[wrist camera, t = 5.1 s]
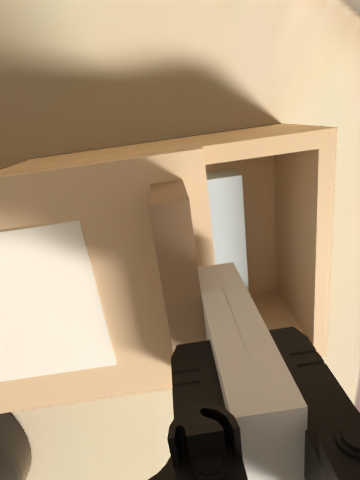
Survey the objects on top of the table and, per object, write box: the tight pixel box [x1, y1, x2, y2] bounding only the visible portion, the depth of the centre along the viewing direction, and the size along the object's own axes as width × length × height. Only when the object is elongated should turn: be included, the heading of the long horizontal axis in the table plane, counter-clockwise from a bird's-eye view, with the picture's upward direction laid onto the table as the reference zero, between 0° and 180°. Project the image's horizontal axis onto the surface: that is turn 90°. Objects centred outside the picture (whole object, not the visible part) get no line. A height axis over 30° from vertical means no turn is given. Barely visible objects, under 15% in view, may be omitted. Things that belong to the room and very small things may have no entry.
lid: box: [0, 147, 215, 414], centre depth 12 cm, size 14×11×4 cm
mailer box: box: [0, 124, 337, 356], centre depth 17 cm, size 14×11×6 cm
